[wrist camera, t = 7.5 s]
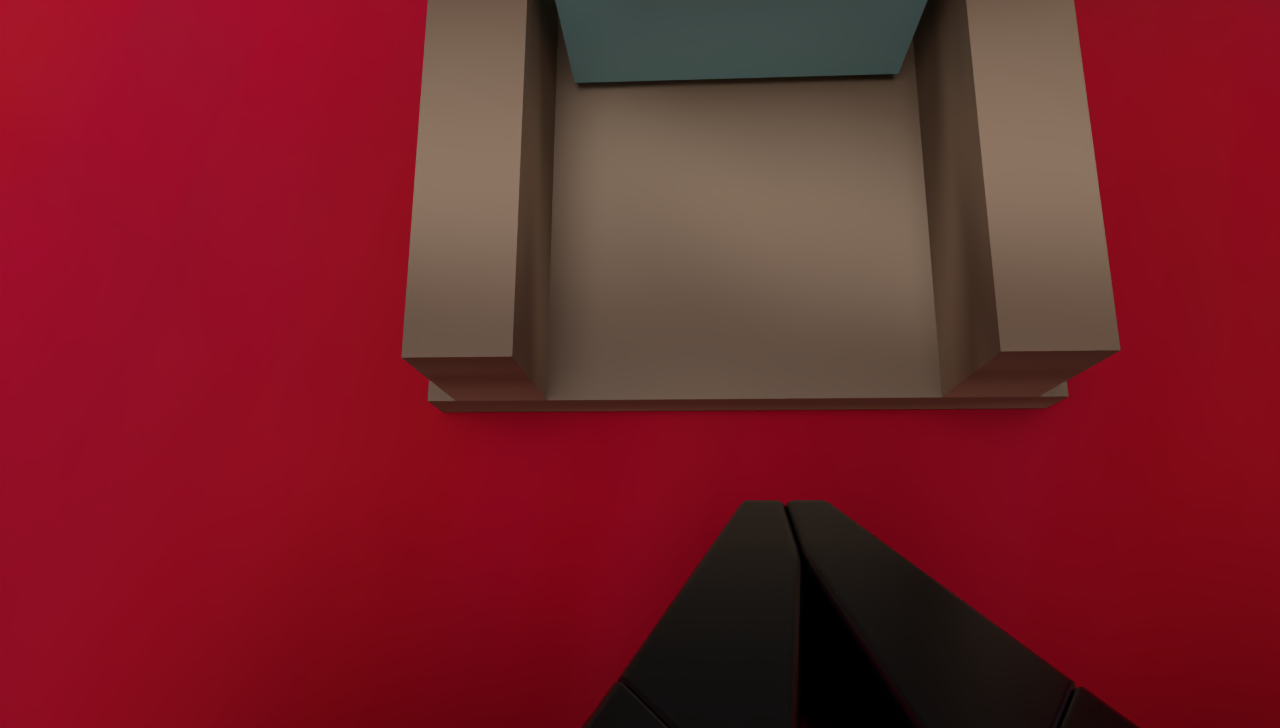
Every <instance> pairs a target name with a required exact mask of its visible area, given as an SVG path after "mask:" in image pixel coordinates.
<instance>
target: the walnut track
mask: <svg viewBox="0 0 1280 728" xmlns="http://www.w3.org/2000/svg"><path fill="white" fill-rule="evenodd" d="M1118 351H1120V343H1119V335H1118V328H1117V320H1116V313H1115V305H1114V298H1113V290H1112V283H1111V275H1110V268H1109V260H1108V253H1107V245H1106V238H1105V230H1104V223H1103V215H1102V208H1101V200H1100V193H1099V185H1098V178H1097V170H1096V163H1095V155H1094V148H1093V141H1092V133H1091V126H1090V118H1089V111H1088V103H1087V96H1086V88H1085V81H1084V73H1083V66H1082V58H1081V51H1080V43H1079V36H1078V28H1077V21H1076V13H1075V6H1074V0H927V3H926V5H925V8H924V10H923V13H922V15H921V18H920V20H919V23H918V26H917V28H916V31H915V33H914V36H913V38H912V41H911V43H910V46H909V48H908V51H907V53H906V56H905V58H904V61H903V63H902V66H901V69H900V71H899V74H872V75H837V76H802V77H766V78H731V79H696V80H660V81H625V82H589V83H575V82H574V78H573V74H572V70H571V65H570V61H569V57H568V53H567V48H566V44H565V40H564V36H563V31H562V27H561V23H560V19H559V14H558V10H557V6H556V2H555V0H428V6H427V20H426V33H425V47H424V60H423V74H422V87H421V101H420V115H419V128H418V142H417V155H416V169H415V182H414V196H413V209H412V223H411V237H410V250H409V264H408V277H407V291H406V304H405V318H404V332H403V345H402V358H403V359H404V360H405V361H406V362H408V363H409V364H410V365H411V366H413V367H414V368H415V369H416V370H418V371H419V372H420V373H421V374H423V375H424V376H425V377H426V378H428V379H429V392H428V402H430V403H431V404H433V405H434V406H435V407H437V408H438V409H440V410H441V411H442V412H551V411H701V410H851V409H1001V408H1047V407H1049V406H1051V405H1053V404H1055V403H1057V402H1059V401H1061V400H1063V399H1065V398H1066V397H1068V388H1067V380H1069V379H1070V378H1072V377H1074V376H1076V375H1077V374H1079V373H1081V372H1083V371H1085V370H1086V369H1088V368H1090V367H1092V366H1093V365H1095V364H1097V363H1099V362H1100V361H1102V360H1104V359H1106V358H1108V357H1109V356H1111V355H1113V354H1115V353H1116V352H1118Z"/></svg>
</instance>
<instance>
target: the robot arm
mask: <svg viewBox="0 0 1280 728" xmlns="http://www.w3.org/2000/svg"><path fill="white" fill-rule="evenodd" d="M582 728H1140V727H1138V726H1137V725H1135V724H1134V723H1133V722H1131V721H1130V720H1128V719H1127V718H1125V717H1124V716H1123V715H1121V714H1120V713H1118V712H1117V711H1116V710H1114V709H1113V708H1111V707H1110V706H1109V705H1107V704H1106V703H1105V702H1103V701H1102V700H1101V699H1099V698H1098V697H1096V696H1095V695H1094V694H1092V693H1091V692H1090V691H1088V690H1087V689H1085V688H1083V687H1078V688H1076V685H1075V683H1074V682H1073V681H1072V680H1070V679H1069V678H1068V677H1066V676H1065V675H1064V674H1062V673H1061V672H1060V671H1058V670H1057V669H1055V668H1054V667H1053V666H1051V665H1050V664H1049V663H1047V662H1046V661H1045V660H1043V659H1042V658H1040V657H1039V656H1038V655H1036V654H1035V653H1034V652H1032V651H1031V650H1030V649H1028V648H1027V647H1025V646H1024V645H1023V644H1021V643H1020V642H1019V641H1017V640H1016V639H1014V638H1013V637H1012V636H1010V635H1009V634H1008V633H1006V632H1005V631H1004V630H1002V629H1001V628H999V627H998V626H997V625H995V624H994V623H993V622H991V621H990V620H989V619H987V618H986V617H984V616H983V615H982V614H980V613H979V612H978V611H976V610H975V609H973V608H972V607H971V606H969V605H968V604H967V603H965V602H964V601H963V600H961V599H960V598H958V597H957V596H956V595H954V594H953V593H952V592H950V591H949V590H948V589H946V588H945V587H943V586H942V585H941V584H939V583H938V582H937V581H935V580H934V579H933V578H931V577H930V576H928V575H927V574H926V573H924V572H923V571H922V570H920V569H919V568H917V567H916V566H915V565H913V564H912V563H911V562H909V561H908V560H907V559H905V558H904V557H902V556H901V555H900V554H898V553H897V552H896V551H894V550H893V549H892V548H890V547H889V546H887V545H886V544H885V543H883V542H882V541H881V540H879V539H878V538H877V537H875V536H874V535H872V534H871V533H870V532H868V531H867V530H866V529H864V528H863V527H861V526H860V525H859V524H857V523H856V522H855V521H853V520H852V519H851V518H849V517H848V516H846V515H845V514H844V513H842V512H841V511H840V510H838V509H837V508H836V507H834V506H833V505H831V504H830V503H828V502H826V501H823V500H793V501H789V502H788V503H787V504H786V505H785V506H784V504H783V503H782V502H780V501H776V500H767V501H756V500H748V501H744V502H743V503H742V504H741V505H740V506H739V508H738V509H737V510H736V512H735V513H734V515H733V516H732V517H731V519H730V520H729V522H728V523H727V525H726V526H725V527H724V529H723V530H722V532H721V533H720V535H719V536H718V537H717V539H716V540H715V542H714V543H713V545H712V546H711V547H710V549H709V550H708V552H707V553H706V555H705V556H704V557H703V559H702V560H701V562H700V563H699V565H698V566H697V567H696V569H695V570H694V572H693V573H692V574H691V576H690V577H689V579H688V580H687V582H686V583H685V584H684V586H683V587H682V589H681V590H680V592H679V593H678V594H677V596H676V597H675V599H674V600H673V602H672V603H671V604H670V606H669V607H668V609H667V610H666V612H665V613H664V614H663V616H662V617H661V619H660V620H659V621H658V623H657V624H656V626H655V627H654V629H653V630H652V631H651V633H650V634H649V636H648V637H647V639H646V640H645V641H644V643H643V644H642V646H641V647H640V649H639V650H638V651H637V653H636V654H635V656H634V657H633V659H632V660H631V661H630V663H629V664H628V666H627V667H626V668H625V670H624V671H623V673H622V674H621V676H620V677H619V678H618V682H616V683H614V684H613V685H612V686H611V688H610V689H609V691H608V692H607V693H606V695H605V696H604V698H603V699H602V701H601V702H600V703H599V705H598V706H597V708H596V709H595V711H594V712H593V713H592V715H591V716H590V717H589V719H588V720H587V721H586V722H585V724H584V725H583V726H582Z"/></svg>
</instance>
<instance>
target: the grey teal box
mask: <svg viewBox="0 0 1280 728" xmlns="http://www.w3.org/2000/svg"><path fill="white" fill-rule="evenodd" d="M555 2H556V6H557V10H558V14H559V19H560V23H561V27H562V31H563V36H564V40H565V44H566V48H567V53H568V57H569V61H570V65H571V70H572V74H573V78H574V82H575V83H589V82H625V81H660V80H696V79H731V78H766V77H802V76H837V75H872V74H899V71H900V69H901V66H902V63H903V61H904V58H905V56H906V53H907V51H908V48H909V46H910V43H911V41H912V38H913V36H914V33H915V31H916V28H917V26H918V23H919V20H920V18H921V15H922V13H923V10H924V8H925V5H926V3H927V0H555Z"/></svg>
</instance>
